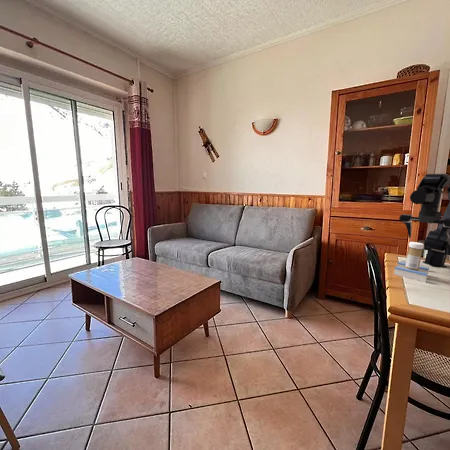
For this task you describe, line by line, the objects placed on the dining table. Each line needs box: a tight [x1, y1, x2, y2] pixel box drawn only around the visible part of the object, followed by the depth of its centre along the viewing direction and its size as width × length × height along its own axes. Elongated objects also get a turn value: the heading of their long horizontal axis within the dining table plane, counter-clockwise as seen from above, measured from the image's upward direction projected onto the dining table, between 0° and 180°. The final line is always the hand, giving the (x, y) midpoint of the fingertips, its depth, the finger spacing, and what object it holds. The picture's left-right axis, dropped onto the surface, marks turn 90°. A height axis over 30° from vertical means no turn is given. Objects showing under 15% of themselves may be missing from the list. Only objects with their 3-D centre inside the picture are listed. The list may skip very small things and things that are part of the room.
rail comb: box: [393, 258, 431, 283], centre depth 99 cm, size 19×10×3 cm, turn 137°
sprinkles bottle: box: [405, 241, 424, 271], centre depth 95 cm, size 5×5×14 cm
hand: (422, 239), depth 103 cm, fingers open, 9 cm apart
